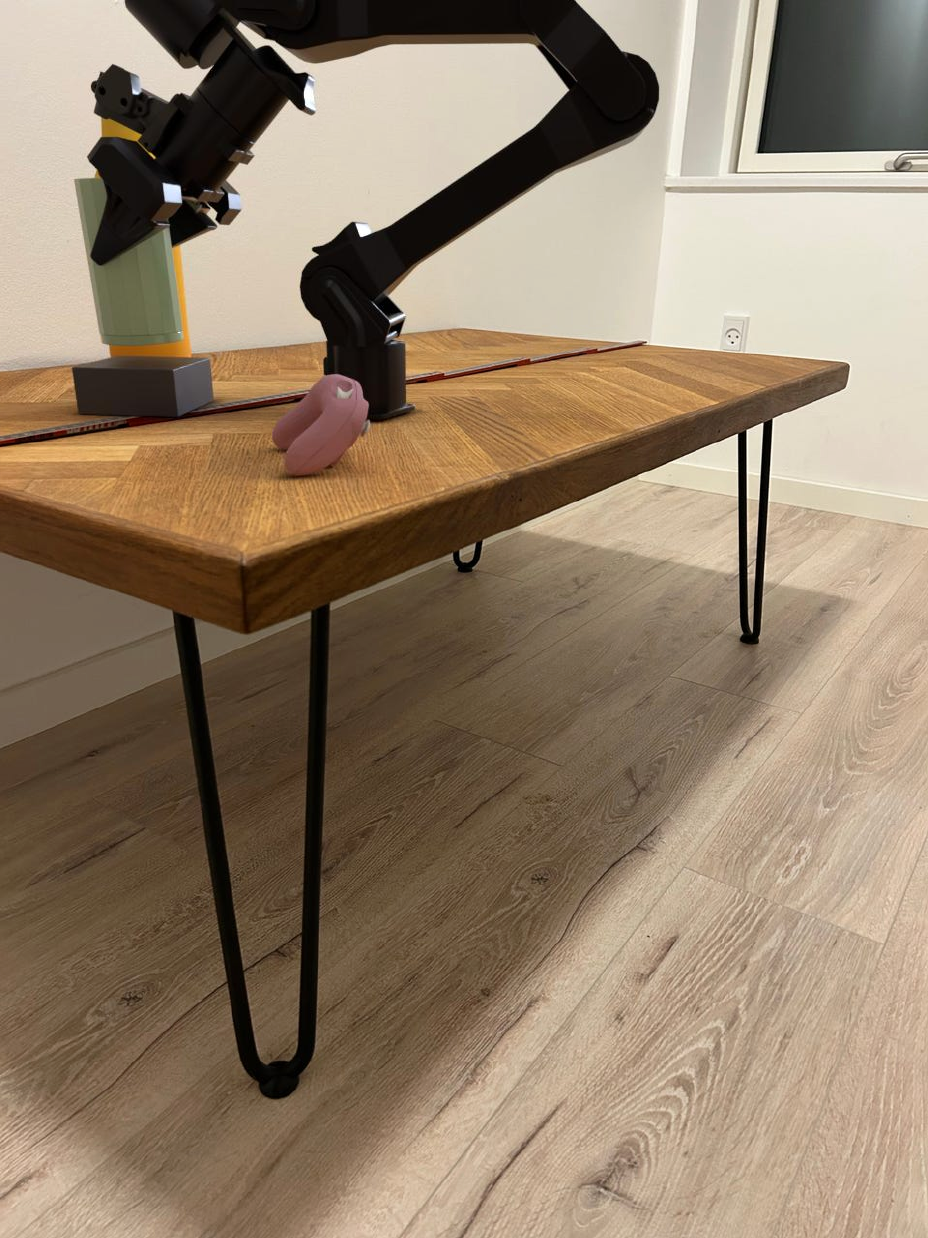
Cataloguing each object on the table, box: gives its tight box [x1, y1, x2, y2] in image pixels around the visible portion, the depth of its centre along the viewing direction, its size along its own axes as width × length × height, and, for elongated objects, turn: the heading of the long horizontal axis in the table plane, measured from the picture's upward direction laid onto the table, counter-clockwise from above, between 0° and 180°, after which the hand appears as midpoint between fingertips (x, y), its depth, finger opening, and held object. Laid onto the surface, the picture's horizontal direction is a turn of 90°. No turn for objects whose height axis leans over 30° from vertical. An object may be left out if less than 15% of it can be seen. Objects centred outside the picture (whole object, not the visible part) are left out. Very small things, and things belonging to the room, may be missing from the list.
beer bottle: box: [93, 117, 192, 358], centre depth 104 cm, size 9×9×29 cm
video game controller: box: [271, 374, 371, 477], centre depth 63 cm, size 10×5×7 cm, turn 17°
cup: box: [73, 177, 184, 346], centre depth 79 cm, size 7×7×13 cm
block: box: [71, 356, 215, 418], centre depth 83 cm, size 9×9×4 cm
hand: (115, 260), depth 79 cm, fingers closed on cup, 7 cm apart
